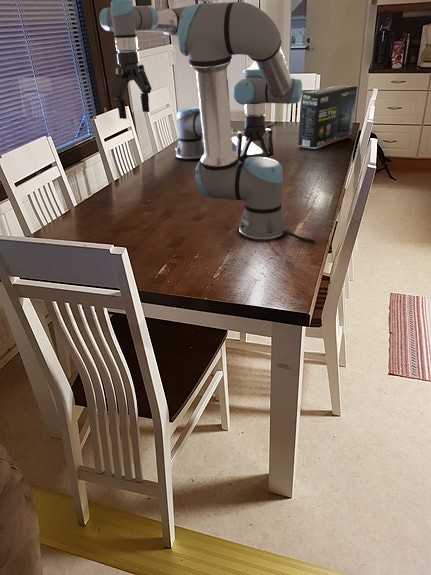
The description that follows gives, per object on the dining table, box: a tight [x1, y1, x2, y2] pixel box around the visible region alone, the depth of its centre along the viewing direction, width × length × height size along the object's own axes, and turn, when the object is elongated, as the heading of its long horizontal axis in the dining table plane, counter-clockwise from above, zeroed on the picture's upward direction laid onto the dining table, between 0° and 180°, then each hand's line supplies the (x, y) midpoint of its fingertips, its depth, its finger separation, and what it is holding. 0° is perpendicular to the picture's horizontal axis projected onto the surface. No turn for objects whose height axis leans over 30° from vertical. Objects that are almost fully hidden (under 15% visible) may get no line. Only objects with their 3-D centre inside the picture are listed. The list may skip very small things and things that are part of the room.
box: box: [232, 136, 266, 162], centre depth 187 cm, size 28×8×10 cm, turn 15°
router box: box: [297, 84, 358, 151], centre depth 238 cm, size 36×11×27 cm, turn 134°
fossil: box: [231, 127, 243, 137], centre depth 256 cm, size 18×11×15 cm
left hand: (135, 115), depth 171 cm, fingers open, 13 cm apart
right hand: (254, 175), depth 181 cm, fingers closed on box, 7 cm apart
